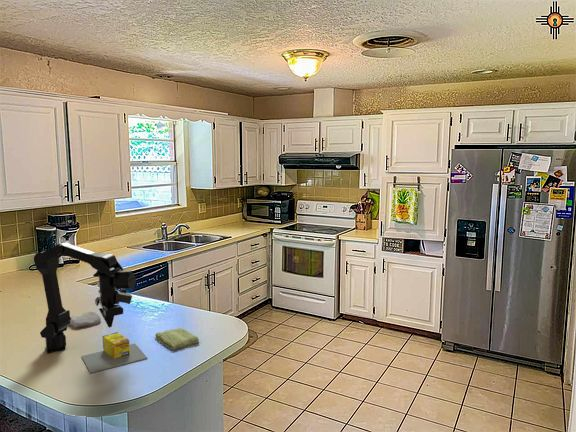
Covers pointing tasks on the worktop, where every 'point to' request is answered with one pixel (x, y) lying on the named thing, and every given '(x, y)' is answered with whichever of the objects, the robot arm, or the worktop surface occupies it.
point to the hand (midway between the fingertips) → (109, 327)
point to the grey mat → (112, 359)
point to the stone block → (85, 319)
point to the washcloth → (176, 338)
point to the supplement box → (116, 345)
